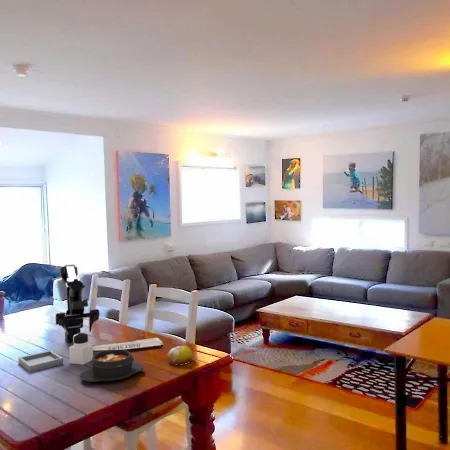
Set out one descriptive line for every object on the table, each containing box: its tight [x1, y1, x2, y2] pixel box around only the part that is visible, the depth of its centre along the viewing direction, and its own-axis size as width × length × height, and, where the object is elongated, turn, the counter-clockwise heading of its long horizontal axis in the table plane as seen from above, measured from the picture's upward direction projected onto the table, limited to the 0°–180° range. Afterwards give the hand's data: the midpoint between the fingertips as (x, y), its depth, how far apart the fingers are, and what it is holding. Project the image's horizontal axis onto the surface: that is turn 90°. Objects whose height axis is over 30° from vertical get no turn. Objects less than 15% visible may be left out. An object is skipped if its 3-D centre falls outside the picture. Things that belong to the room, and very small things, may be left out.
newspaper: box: [93, 337, 164, 356], centre depth 220 cm, size 35×12×4 cm, turn 113°
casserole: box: [79, 350, 144, 383], centre depth 187 cm, size 25×19×8 cm
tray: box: [17, 349, 64, 373], centre depth 202 cm, size 14×14×2 cm
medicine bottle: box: [68, 332, 94, 365], centre depth 204 cm, size 7×7×12 cm
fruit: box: [166, 345, 194, 366], centre depth 202 cm, size 11×10×8 cm
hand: (79, 333), depth 207 cm, fingers open, 9 cm apart
